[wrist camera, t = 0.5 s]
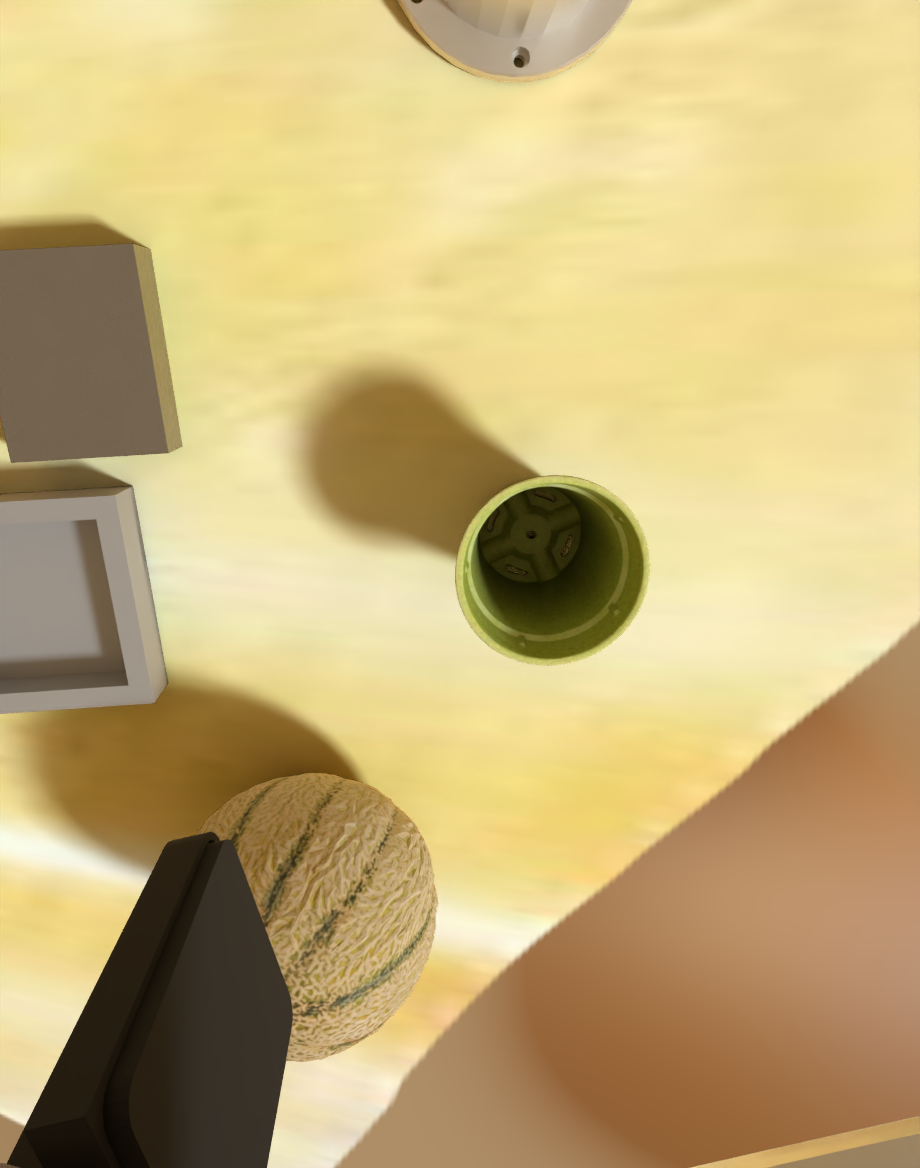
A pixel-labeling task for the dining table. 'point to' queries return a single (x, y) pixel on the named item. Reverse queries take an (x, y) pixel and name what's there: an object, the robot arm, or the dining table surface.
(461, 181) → the dining table surface
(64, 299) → the grey rectangular block
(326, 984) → the cantaloupe
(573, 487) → the plant pot
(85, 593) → the tray
